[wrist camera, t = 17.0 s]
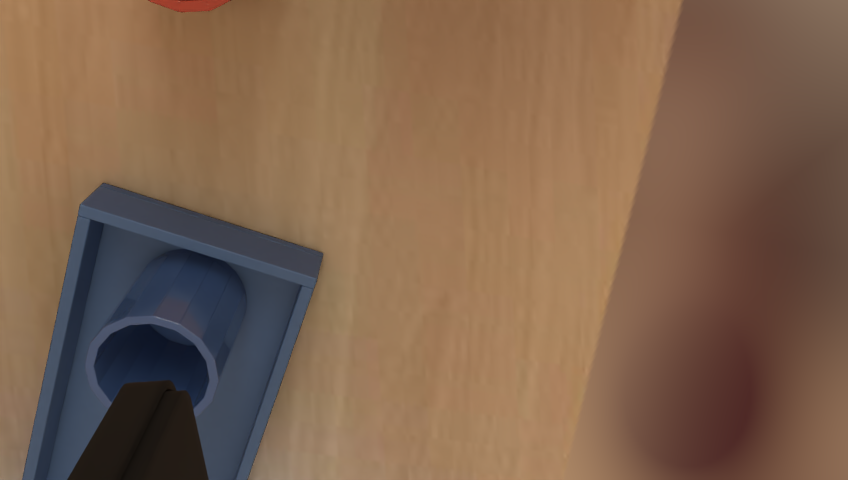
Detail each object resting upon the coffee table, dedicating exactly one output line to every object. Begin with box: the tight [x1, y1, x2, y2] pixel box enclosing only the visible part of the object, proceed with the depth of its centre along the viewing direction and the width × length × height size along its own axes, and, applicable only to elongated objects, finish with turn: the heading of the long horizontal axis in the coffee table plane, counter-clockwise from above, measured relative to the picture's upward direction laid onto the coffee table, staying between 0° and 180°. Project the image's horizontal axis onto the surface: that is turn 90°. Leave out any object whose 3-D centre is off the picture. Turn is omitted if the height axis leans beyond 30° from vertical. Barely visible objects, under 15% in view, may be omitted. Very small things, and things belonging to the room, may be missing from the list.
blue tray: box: [22, 183, 323, 480], centre depth 42 cm, size 22×11×3 cm, turn 160°
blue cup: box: [85, 249, 247, 418], centre depth 37 cm, size 6×6×7 cm
